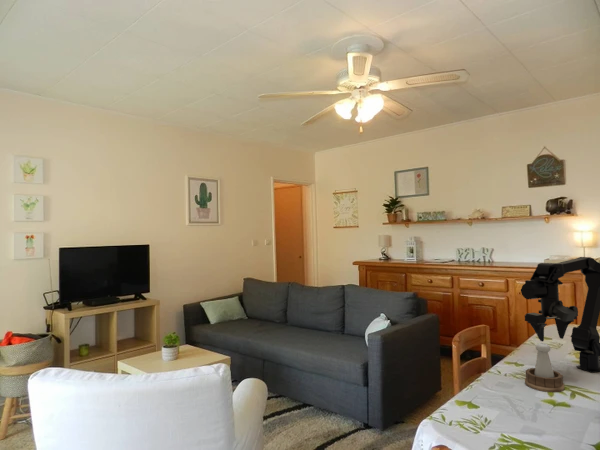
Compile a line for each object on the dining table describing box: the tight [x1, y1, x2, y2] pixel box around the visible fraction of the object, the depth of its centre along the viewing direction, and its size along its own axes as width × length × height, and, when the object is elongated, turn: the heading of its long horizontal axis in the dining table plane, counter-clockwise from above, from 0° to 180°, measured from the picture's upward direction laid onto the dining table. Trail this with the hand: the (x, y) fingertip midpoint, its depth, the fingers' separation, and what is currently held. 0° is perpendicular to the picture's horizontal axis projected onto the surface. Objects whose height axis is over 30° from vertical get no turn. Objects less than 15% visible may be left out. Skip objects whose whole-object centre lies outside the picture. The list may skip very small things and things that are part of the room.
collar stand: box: [524, 367, 566, 393], centre depth 136 cm, size 12×12×4 cm
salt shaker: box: [534, 342, 554, 378], centre depth 137 cm, size 6×6×13 cm
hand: (551, 339), depth 146 cm, fingers open, 9 cm apart
